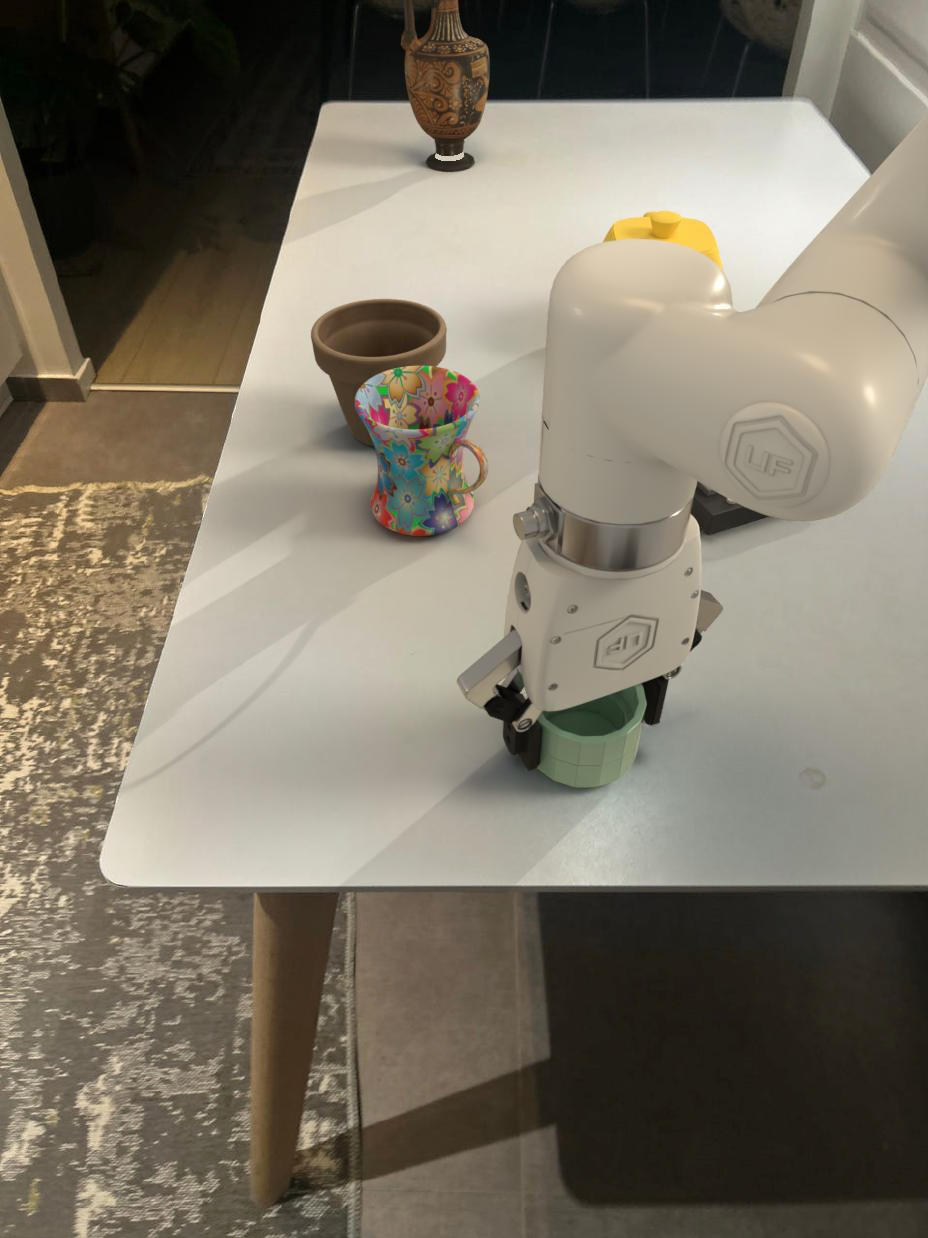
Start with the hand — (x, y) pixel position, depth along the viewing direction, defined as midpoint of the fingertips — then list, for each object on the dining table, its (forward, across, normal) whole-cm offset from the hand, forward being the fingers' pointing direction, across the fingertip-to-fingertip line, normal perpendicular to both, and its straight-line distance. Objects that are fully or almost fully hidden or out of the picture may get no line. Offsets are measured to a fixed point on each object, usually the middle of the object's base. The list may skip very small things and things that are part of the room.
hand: (583, 729), depth 58 cm
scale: (+1, +26, +21) cm, 33 cm away
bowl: (+1, 0, 0) cm, 1 cm away
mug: (+1, 0, +25) cm, 25 cm away
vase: (+2, +33, +101) cm, 106 cm away
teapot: (+1, +31, +42) cm, 52 cm away
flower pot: (+1, +1, +39) cm, 39 cm away
